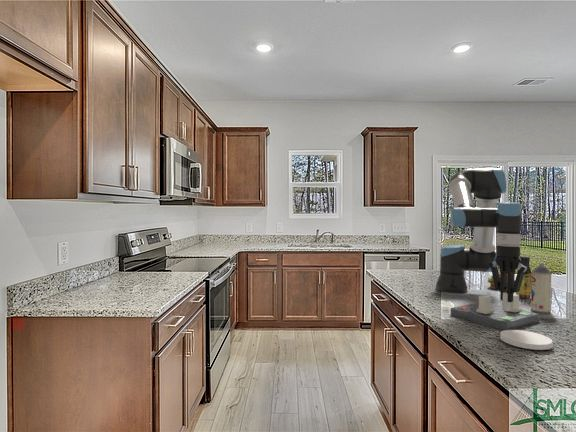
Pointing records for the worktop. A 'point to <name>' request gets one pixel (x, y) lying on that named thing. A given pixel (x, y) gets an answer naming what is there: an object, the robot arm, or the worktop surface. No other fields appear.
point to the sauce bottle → (525, 279)
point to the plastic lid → (526, 339)
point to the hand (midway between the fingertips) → (506, 310)
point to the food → (493, 282)
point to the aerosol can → (541, 290)
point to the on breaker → (515, 304)
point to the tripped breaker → (485, 305)
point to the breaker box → (495, 316)
